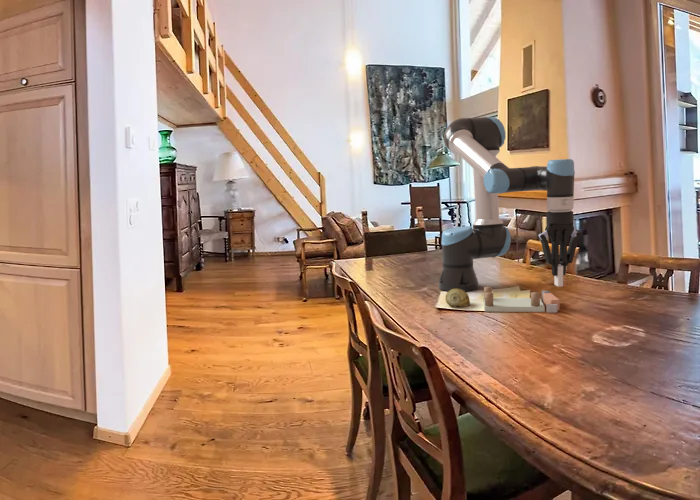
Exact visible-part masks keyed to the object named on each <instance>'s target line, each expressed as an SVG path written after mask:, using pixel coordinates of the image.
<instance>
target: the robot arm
mask: <svg viewBox="0 0 700 500" xmlns="http://www.w3.org/2000/svg"><path fill="white" fill-rule="evenodd" d="M443 140H444V142H443V143H444V144H445V146H446V148H447V149H448V151H450V152H451V153H452V154H454V155H457V156H459V157H461V159H462V160H463V161H465V162H466V163H467V164H468V165H469V166H470V167H471V168H472V169H473V182H474V183H473V184H474V199H475V201H474V202H475V217H476V220H475V221H474V222H473V224H472V226H470V225H469V226H468V225H467V226H466V225H464V226H463V225H462V226H456V227H455V226H454V227H451V228H447V229H446V230H444V231H443V232H442V233H441V243H440V244H441V257H442V260H441V261H442V269H441V273H440V275H439V280H438V289H439V290H441V291H446V292H448V291H450V290H451V289H454V288H458V289H461V290H463V291H464V292H469V291H471V292H472V291H474V290H477V289H479V280H478V277H477V275H476V272H475V269H474V260H478V259H487V258H497V257H502V256H504V255H505V254H507V252H508V251H509V249H510V246H511V241H512V238H511V237H512V236H511V232H510V230H509V228H508V227H507V226H505V225H504V221H503V220H502V219H501V218H500V209H499V194H505V193H506V194H507V193H517V192H530V191H546V210H547V212H546V226H545V229H544V231H543V232H542V233H538V234H537V237H538V238H539V240H540V243H541V247H542V251H543V255H544V259H545V260H544V261H545V263H546V264H548V265H551V275H552V276H554V277H553V279H554V280H553V281H554V282H553V284H554V286H556V287H559V288H560V287H564V276H566V275H567V266H568V265H569V264H572V263H573V261H574V257H575V254H576V249H577V246H578V242H579V240H580V238H581V237H582V235H583V233H582V232H580V231H578V230H575V227H574V211H573V209H574V198H575V197H574V192H575V174H576V171H575V162H574V160H573V159H572V158H563V159H560V158H559V159H549V160H548V161H547V163H546V164H547V165H546V166H541V165H540V166H539V165H538V166H537V165H534V166H527V167H513V168H512V167H508V166H507V165H506V164H505V163H504V162H502V161H501V160H500V159H499V158H498V157H497V155H498V154H499V153H500V151H501V150H500V148H502V147H503V146H504V144H505V140H506V129H505V126H504V124H503V122H502V121H501V119H499V118H497V117H489V116H486V117H485V116H484V117H482V116H481V117H463V118H458V119H455V120H453V121H452V122H451V123H449V124H448V126H447V127H446V129H445V132H444V135H443ZM570 236H571V237H570ZM548 237H549V239H550V244H551V247H550V245H549V241H548ZM569 238H570V239H569ZM550 248H551V249H550Z"/></svg>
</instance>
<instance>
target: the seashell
mask: <svg viewBox="0 0 700 500" xmlns="http://www.w3.org/2000/svg"><path fill="white" fill-rule="evenodd" d="M444 298H445V299H444V300H445V303H446V304H447V305H448V306H449V307H469V306H470V305H471V302H470V297H469V295H468V293H467V291H463V290H461V289H458V288H454V289H451V290H450V291H446V294H445V297H444Z"/></svg>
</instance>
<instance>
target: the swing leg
mask: <svg viewBox="0 0 700 500" xmlns="http://www.w3.org/2000/svg"><path fill="white" fill-rule="evenodd" d="M541 301H542V303H543V305H544V306H546V304H557V311H560V299H559V298H558V297H557V296H555V295H554V294H553V293H551V291H550V290H542V291H541Z"/></svg>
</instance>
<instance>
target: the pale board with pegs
mask: <svg viewBox="0 0 700 500" xmlns="http://www.w3.org/2000/svg"><path fill="white" fill-rule="evenodd" d="M483 293H484V295H483V309H484V312H486V313H487V312H489V313H491V312H492V313H493V312H496V313H497V312H498V313H499V312H501V313H503V312H505V313H506V312H507V313H510V312H511V313H512V312H513V313H515V312H517V313H520V312H522V313H523V312H524V313H525V312H526V313H527V312H529V313H532V312H533V313H534V312H535V313H539V312H540V313H545V312H546V313H551V314H553V313H558V310H557V304H546V305H545V304H544V303H542V298H541V293H540V292H539V291H537V292H536V291H533V292H530V297H494V293H493V286H484V287H483ZM545 308H546V309H545Z"/></svg>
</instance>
